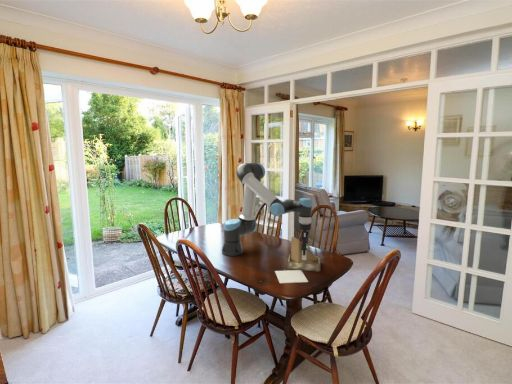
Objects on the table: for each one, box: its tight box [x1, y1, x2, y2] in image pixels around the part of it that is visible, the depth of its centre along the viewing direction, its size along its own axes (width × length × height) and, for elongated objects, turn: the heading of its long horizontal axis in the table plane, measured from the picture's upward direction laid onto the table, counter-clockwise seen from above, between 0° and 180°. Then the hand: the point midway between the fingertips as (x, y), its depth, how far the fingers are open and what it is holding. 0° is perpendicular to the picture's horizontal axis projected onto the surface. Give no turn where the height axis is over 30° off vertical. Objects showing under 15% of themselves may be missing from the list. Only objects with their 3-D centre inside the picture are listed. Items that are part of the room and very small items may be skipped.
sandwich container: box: [290, 236, 318, 263], centre depth 185 cm, size 9×15×15 cm, turn 114°
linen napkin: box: [274, 269, 309, 285], centre depth 170 cm, size 16×16×1 cm
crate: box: [286, 253, 321, 272], centre depth 186 cm, size 20×15×5 cm
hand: (304, 256), depth 185 cm, fingers closed on sandwich container, 12 cm apart
